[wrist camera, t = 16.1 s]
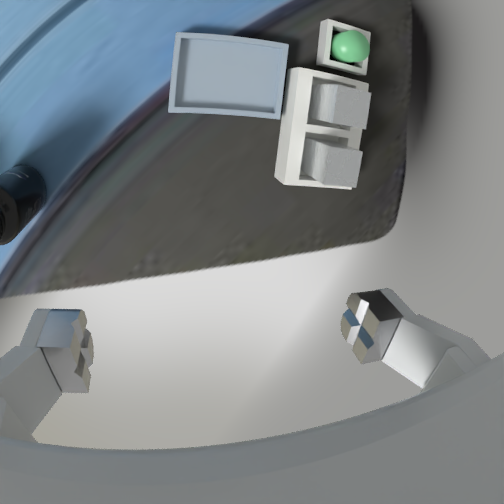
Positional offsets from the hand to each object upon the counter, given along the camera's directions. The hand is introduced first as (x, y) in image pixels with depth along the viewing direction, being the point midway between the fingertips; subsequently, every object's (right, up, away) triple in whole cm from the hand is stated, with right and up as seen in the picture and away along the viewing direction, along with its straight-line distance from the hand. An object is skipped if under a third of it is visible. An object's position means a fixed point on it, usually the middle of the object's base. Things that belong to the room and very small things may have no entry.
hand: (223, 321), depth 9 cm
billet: (+9, +20, +25) cm, 33 cm away
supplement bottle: (-27, +10, +22) cm, 36 cm away
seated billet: (+9, +14, +28) cm, 32 cm away
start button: (+12, +27, +22) cm, 37 cm away
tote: (-2, +21, +22) cm, 31 cm away
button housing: (+12, +27, +23) cm, 37 cm away
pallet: (+9, +17, +27) cm, 33 cm away
